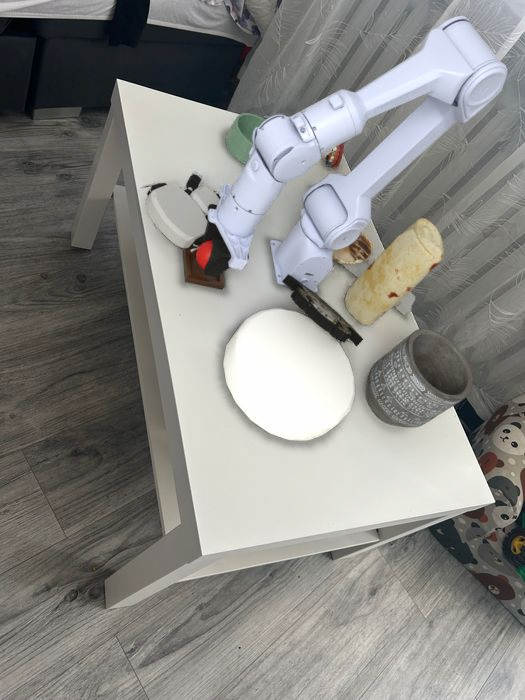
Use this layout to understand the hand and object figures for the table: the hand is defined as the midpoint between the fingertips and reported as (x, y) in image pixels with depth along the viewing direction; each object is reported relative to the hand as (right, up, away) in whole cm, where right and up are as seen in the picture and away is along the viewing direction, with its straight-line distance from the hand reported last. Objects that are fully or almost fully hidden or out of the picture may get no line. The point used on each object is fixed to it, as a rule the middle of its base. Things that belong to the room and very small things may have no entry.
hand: (208, 261), depth 90 cm
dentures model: (+17, +30, +33) cm, 48 cm away
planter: (+28, -22, +6) cm, 36 cm away
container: (+11, -18, -2) cm, 21 cm away
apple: (-1, -1, +1) cm, 1 cm away
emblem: (+19, -6, +10) cm, 22 cm away
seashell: (+23, +5, +13) cm, 27 cm away
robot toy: (-5, +7, +5) cm, 10 cm away
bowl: (+5, +25, +25) cm, 36 cm away
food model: (+25, -6, +16) cm, 30 cm away
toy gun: (+30, +11, +29) cm, 43 cm away
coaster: (-1, -1, +2) cm, 3 cm away
